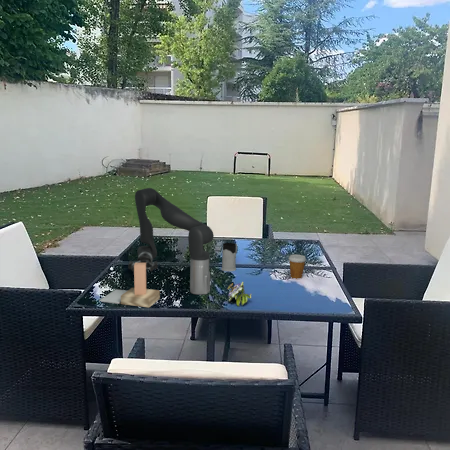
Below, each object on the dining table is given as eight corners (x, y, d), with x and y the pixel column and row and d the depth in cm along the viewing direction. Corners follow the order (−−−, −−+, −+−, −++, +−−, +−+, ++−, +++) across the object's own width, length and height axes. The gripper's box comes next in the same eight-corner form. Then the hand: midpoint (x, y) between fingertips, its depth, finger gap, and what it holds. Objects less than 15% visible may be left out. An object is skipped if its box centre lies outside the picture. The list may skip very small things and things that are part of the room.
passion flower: (230, 312, 214) (225, 288, 219) (252, 307, 215) (247, 283, 220) (230, 307, 204) (225, 281, 208) (254, 302, 205) (248, 277, 209)
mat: (134, 292, 222) (134, 291, 222) (118, 303, 207) (118, 302, 207) (115, 290, 225) (115, 289, 225) (99, 301, 210) (99, 300, 209)
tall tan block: (146, 291, 212) (145, 262, 210) (145, 294, 208) (145, 265, 206) (135, 291, 212) (135, 262, 209) (134, 294, 208) (134, 265, 205)
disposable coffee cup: (306, 280, 248) (308, 258, 245) (289, 280, 247) (290, 258, 245) (302, 274, 257) (303, 254, 255) (286, 274, 256) (287, 254, 254)
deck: (159, 298, 215) (159, 290, 214) (149, 307, 203) (149, 299, 203) (132, 295, 218) (132, 287, 217) (120, 304, 207) (120, 295, 206)
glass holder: (218, 269, 263) (219, 244, 260) (229, 264, 275) (230, 240, 272) (232, 272, 259) (232, 246, 256) (242, 266, 271) (243, 241, 268)
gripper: (130, 253, 234) (127, 262, 218) (158, 253, 235) (156, 261, 219) (131, 267, 235) (127, 277, 219) (158, 267, 236) (157, 276, 221)
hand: (142, 269), depth 219 cm, fingers open, 8 cm apart
